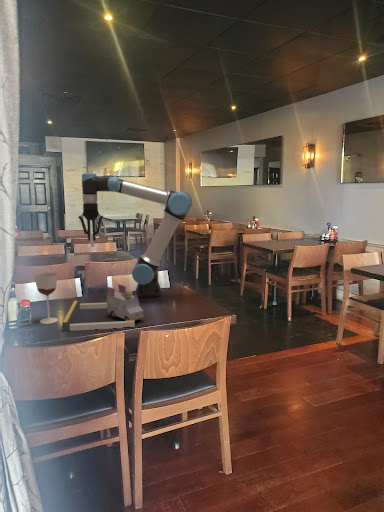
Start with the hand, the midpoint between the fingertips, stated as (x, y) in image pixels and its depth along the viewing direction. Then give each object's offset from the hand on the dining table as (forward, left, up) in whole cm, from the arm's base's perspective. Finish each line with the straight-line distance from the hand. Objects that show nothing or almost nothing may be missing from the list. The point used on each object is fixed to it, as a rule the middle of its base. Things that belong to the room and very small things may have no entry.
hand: (92, 246), depth 204 cm
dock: (-7, +29, -30) cm, 43 cm away
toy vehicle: (-17, +32, -31) cm, 48 cm away
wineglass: (+18, +30, -31) cm, 46 cm away
